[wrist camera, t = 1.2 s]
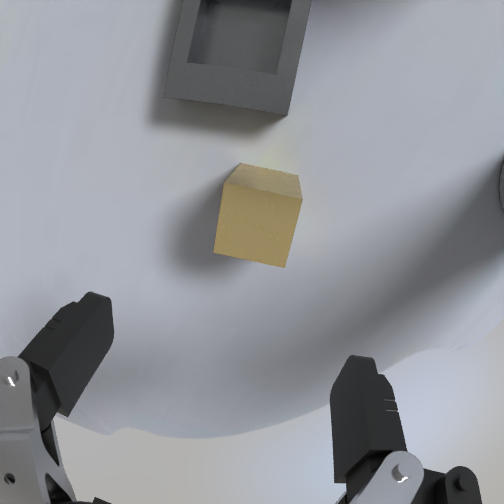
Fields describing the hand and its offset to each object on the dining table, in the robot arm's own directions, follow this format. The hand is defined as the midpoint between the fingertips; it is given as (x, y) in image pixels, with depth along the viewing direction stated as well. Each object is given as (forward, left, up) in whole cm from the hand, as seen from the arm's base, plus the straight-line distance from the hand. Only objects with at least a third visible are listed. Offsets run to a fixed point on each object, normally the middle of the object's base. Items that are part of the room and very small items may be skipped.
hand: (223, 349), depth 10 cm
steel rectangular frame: (+4, -17, -18) cm, 25 cm away
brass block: (0, 0, -18) cm, 18 cm away
